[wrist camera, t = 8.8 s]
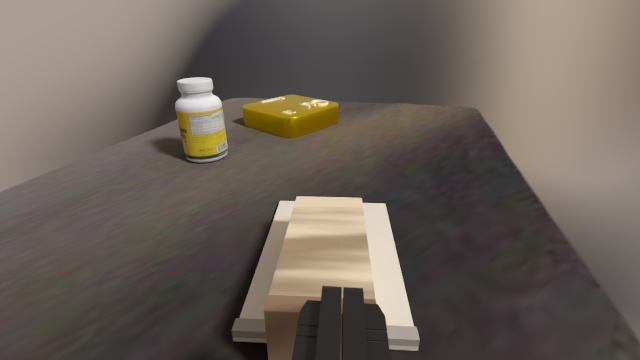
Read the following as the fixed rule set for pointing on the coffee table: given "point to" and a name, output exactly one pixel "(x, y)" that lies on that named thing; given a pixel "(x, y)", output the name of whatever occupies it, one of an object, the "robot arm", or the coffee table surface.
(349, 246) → the birch block
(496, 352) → the coffee table surface
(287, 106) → the element tile
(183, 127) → the pill bottle
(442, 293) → the coffee table surface
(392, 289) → the mat
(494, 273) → the coffee table surface
